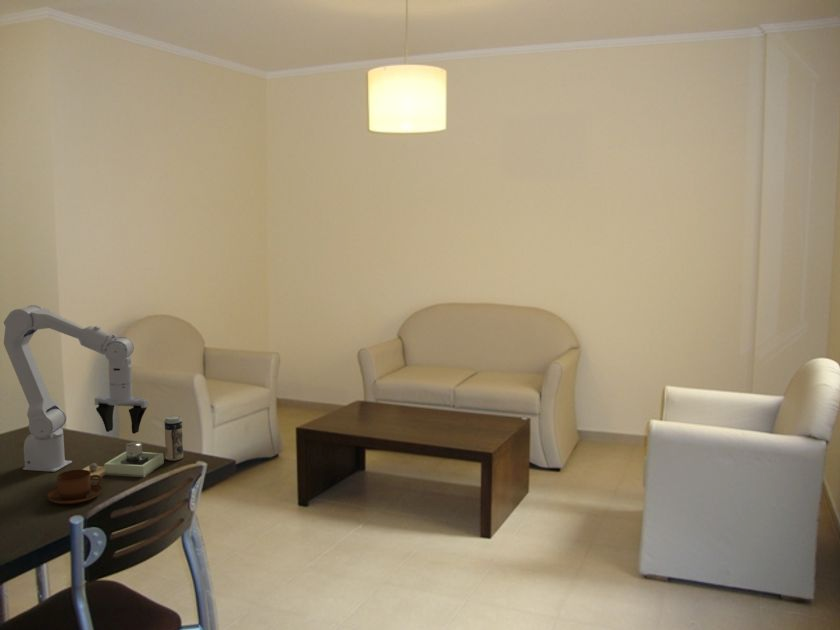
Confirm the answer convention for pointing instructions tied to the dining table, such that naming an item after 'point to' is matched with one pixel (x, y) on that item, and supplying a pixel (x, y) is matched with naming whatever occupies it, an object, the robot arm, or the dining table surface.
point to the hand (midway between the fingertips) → (122, 431)
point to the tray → (143, 470)
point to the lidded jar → (173, 438)
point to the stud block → (95, 470)
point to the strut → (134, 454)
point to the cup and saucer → (74, 487)
